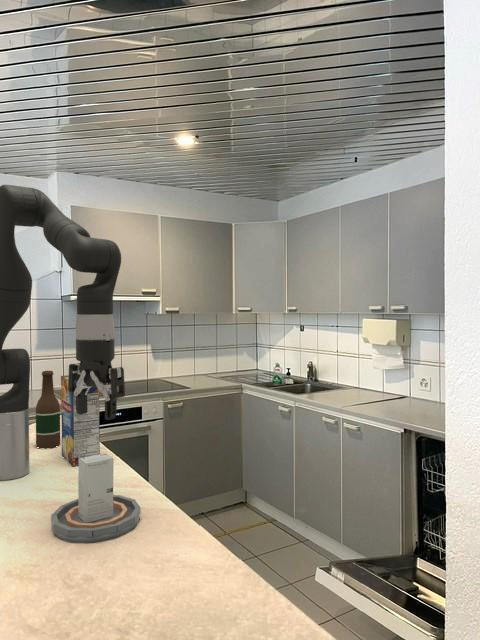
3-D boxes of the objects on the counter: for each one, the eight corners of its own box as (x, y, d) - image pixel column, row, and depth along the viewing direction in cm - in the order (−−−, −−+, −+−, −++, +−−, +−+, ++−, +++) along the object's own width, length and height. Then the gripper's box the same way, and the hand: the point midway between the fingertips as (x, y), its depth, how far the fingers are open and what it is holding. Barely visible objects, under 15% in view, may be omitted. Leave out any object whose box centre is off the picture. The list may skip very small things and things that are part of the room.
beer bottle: (55, 449, 149) (54, 372, 149) (30, 449, 150) (29, 372, 149) (65, 442, 157) (64, 369, 157) (41, 442, 157) (40, 369, 157)
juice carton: (61, 456, 142) (60, 375, 142) (87, 452, 147) (86, 373, 146) (73, 467, 132) (72, 380, 132) (99, 462, 137) (99, 378, 136)
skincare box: (85, 524, 95) (84, 463, 94) (77, 516, 98) (76, 458, 98) (115, 516, 98) (114, 457, 98) (106, 508, 102) (105, 452, 102)
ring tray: (34, 528, 96) (34, 516, 95) (101, 499, 110) (101, 489, 110) (91, 551, 86) (91, 538, 86) (156, 517, 101) (156, 505, 100)
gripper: (57, 336, 98) (57, 415, 98) (104, 339, 90) (105, 424, 91) (86, 335, 104) (87, 409, 105) (134, 337, 96) (134, 417, 97)
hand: (95, 416), depth 98 cm, fingers open, 8 cm apart
